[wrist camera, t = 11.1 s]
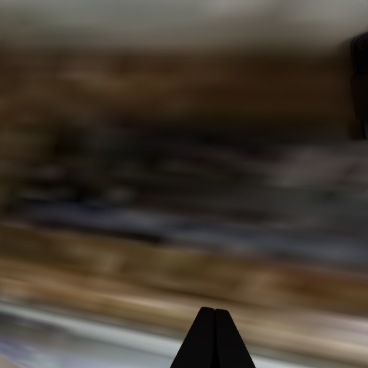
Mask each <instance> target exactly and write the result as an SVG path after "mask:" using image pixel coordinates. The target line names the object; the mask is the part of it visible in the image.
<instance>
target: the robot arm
mask: <svg viewBox="0 0 368 368" xmlns="http://www.w3.org/2000/svg"><path fill="white" fill-rule="evenodd" d="M361 40H363V41H364V46H363V48H362V49H359V48H358V43H359V42H360V41H361ZM350 50H351V56H352V63H353V70H354V74H353V75H352V77H351V79H350V81H351V88H352V94H353V101H354V108H355V114H356V117H357V118H358V119H360V120H361V125H362V132H363V137H364V138H365V139H366V140H368V32H367V33H364V34H362V35H359V36H357V37H356V38H354V39H353V41H352V42H351V45H350ZM170 368H256V367H255V365H254V363H253V361H252V359H251V357H250V354H249V352H248V350H247V348H246V346H245V344H244V342H243V340H242V338H241V336H240V334H239V332H238V330H237V328H236V326H235V324H234V322H233V319H232V317H231V315H230V313H229V312H228V311H227V310H223V309H215V311H214V309H213V308H209V307H201V309H200V310H199V312H198V314H197V316H196V318H195V320H194V322H193V324H192V326H191V328H190V330H189V332H188V334H187V336H186V338H185V339H184V341H183V343H182V345H181V347H180V349H179V351H178V353H177V355H176V357H175V359H174V361H173V363H172V365H171V367H170Z"/></svg>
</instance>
